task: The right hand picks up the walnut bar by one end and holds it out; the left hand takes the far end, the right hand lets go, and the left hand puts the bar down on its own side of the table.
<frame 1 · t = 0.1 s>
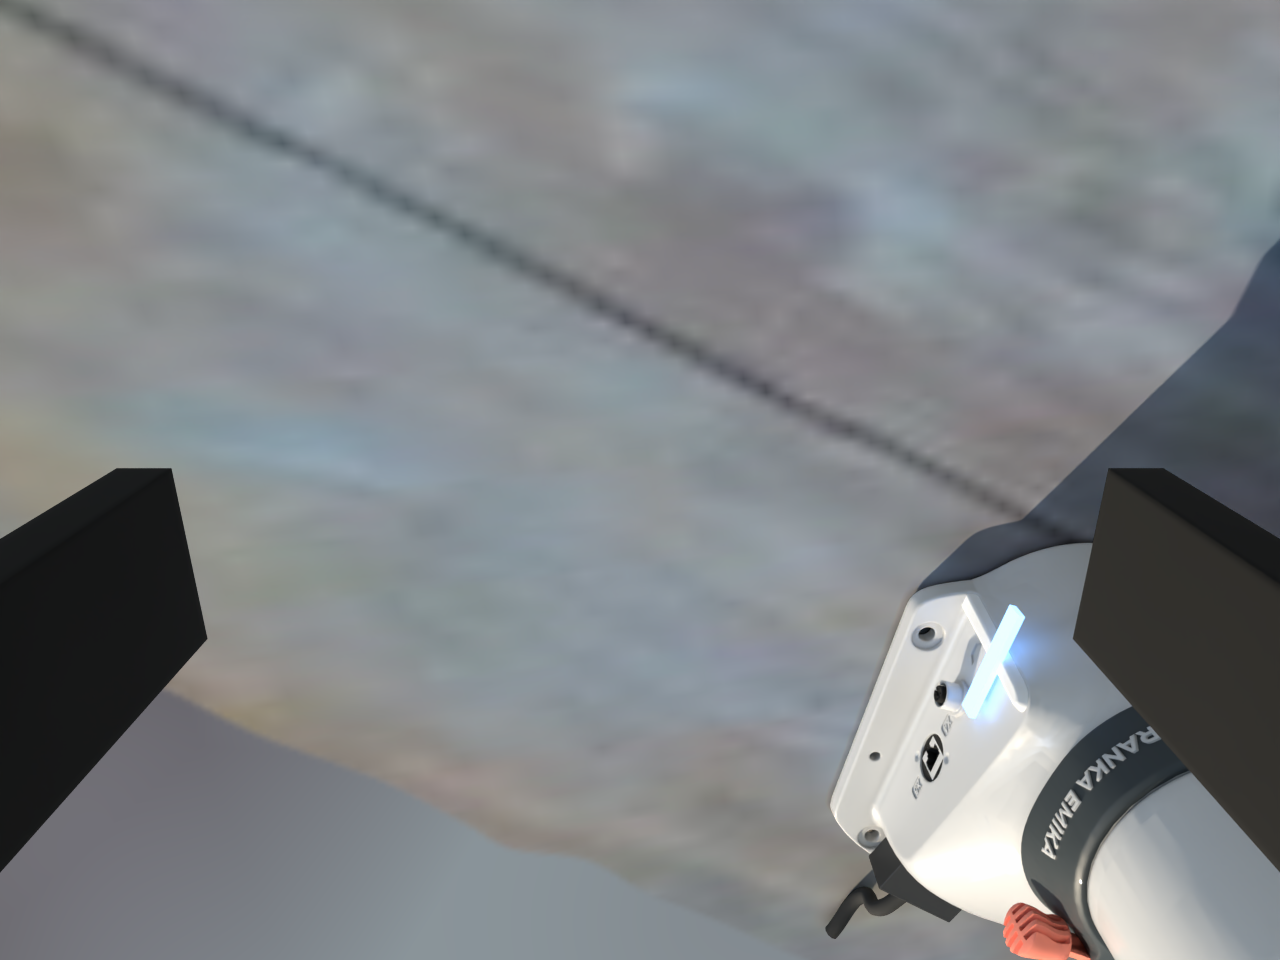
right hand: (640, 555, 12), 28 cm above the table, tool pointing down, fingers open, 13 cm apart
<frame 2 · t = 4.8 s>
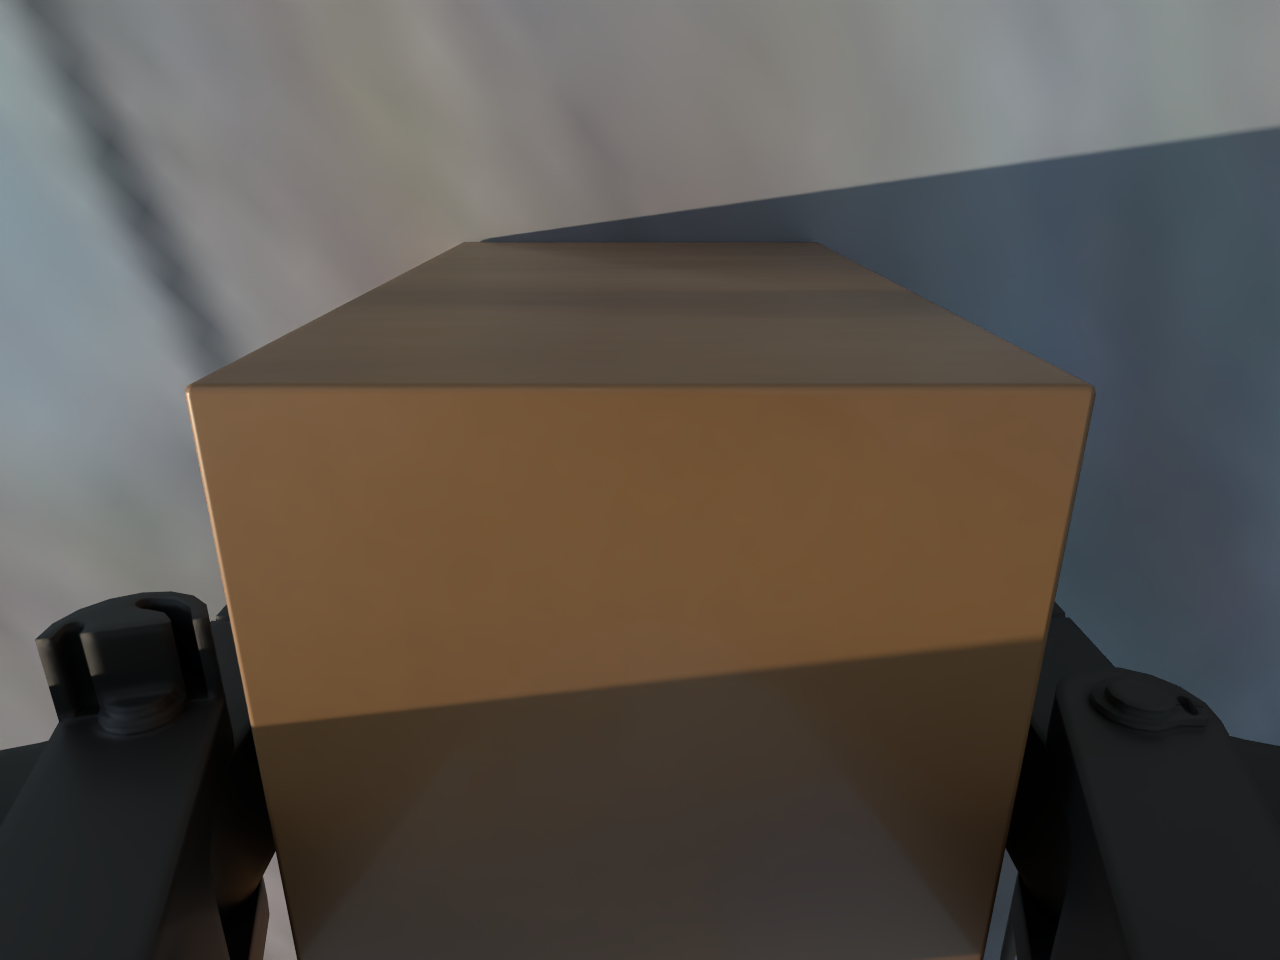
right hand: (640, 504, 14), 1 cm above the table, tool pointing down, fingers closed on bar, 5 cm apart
bar: (640, 806, 17), on the table, touching right hand
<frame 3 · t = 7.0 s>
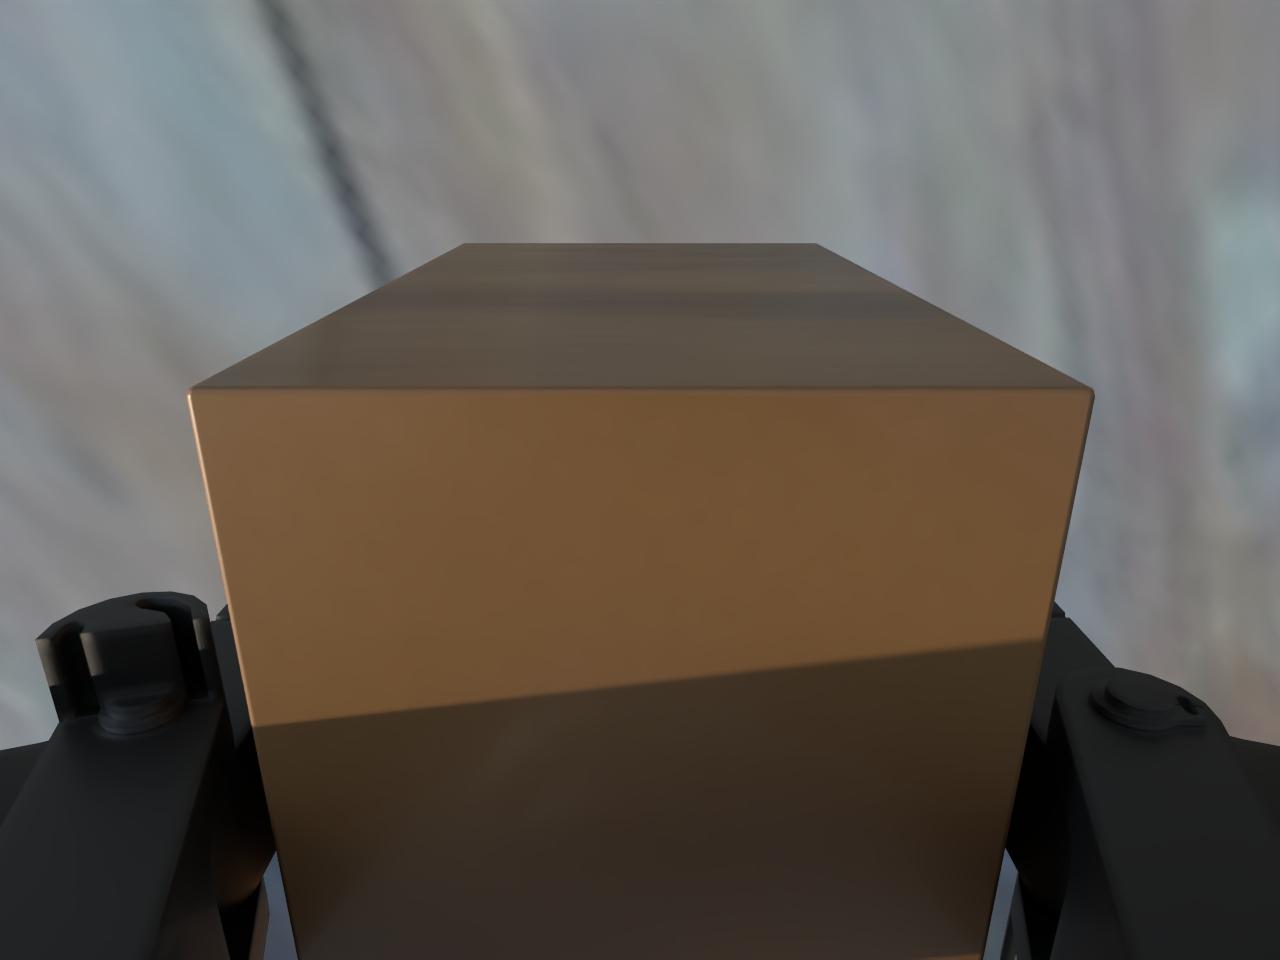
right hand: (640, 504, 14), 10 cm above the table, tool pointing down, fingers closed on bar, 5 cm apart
bar: (640, 806, 17), point 10 cm above the table, touching right hand
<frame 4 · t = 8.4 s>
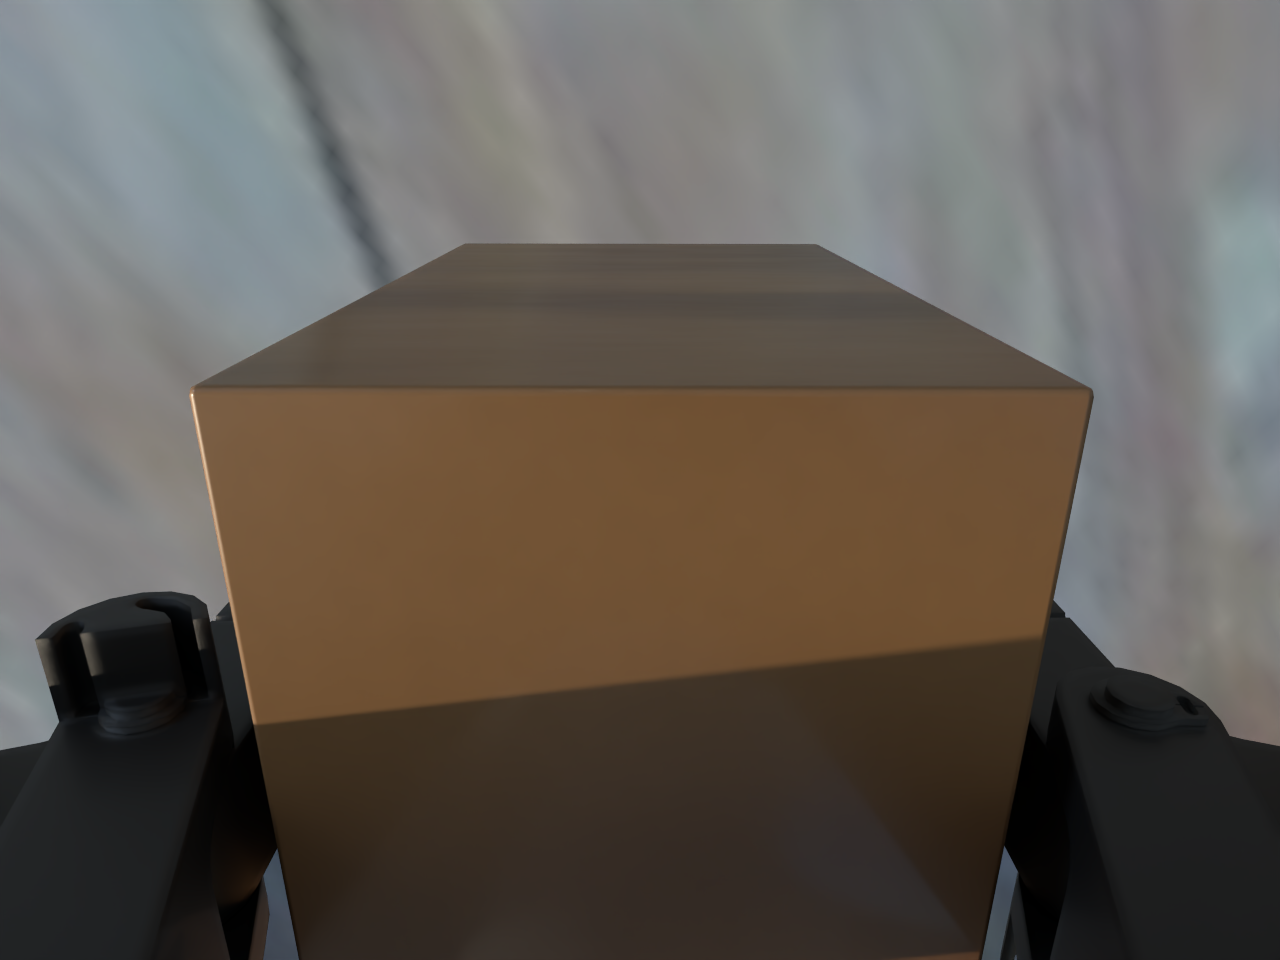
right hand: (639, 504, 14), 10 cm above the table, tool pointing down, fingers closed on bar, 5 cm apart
bar: (639, 806, 17), point 10 cm above the table, touching right hand, left hand
when the right hand's fingers open (10 cm above the table, at t = 9.4 s): bar stays where it is, held by the left hand.
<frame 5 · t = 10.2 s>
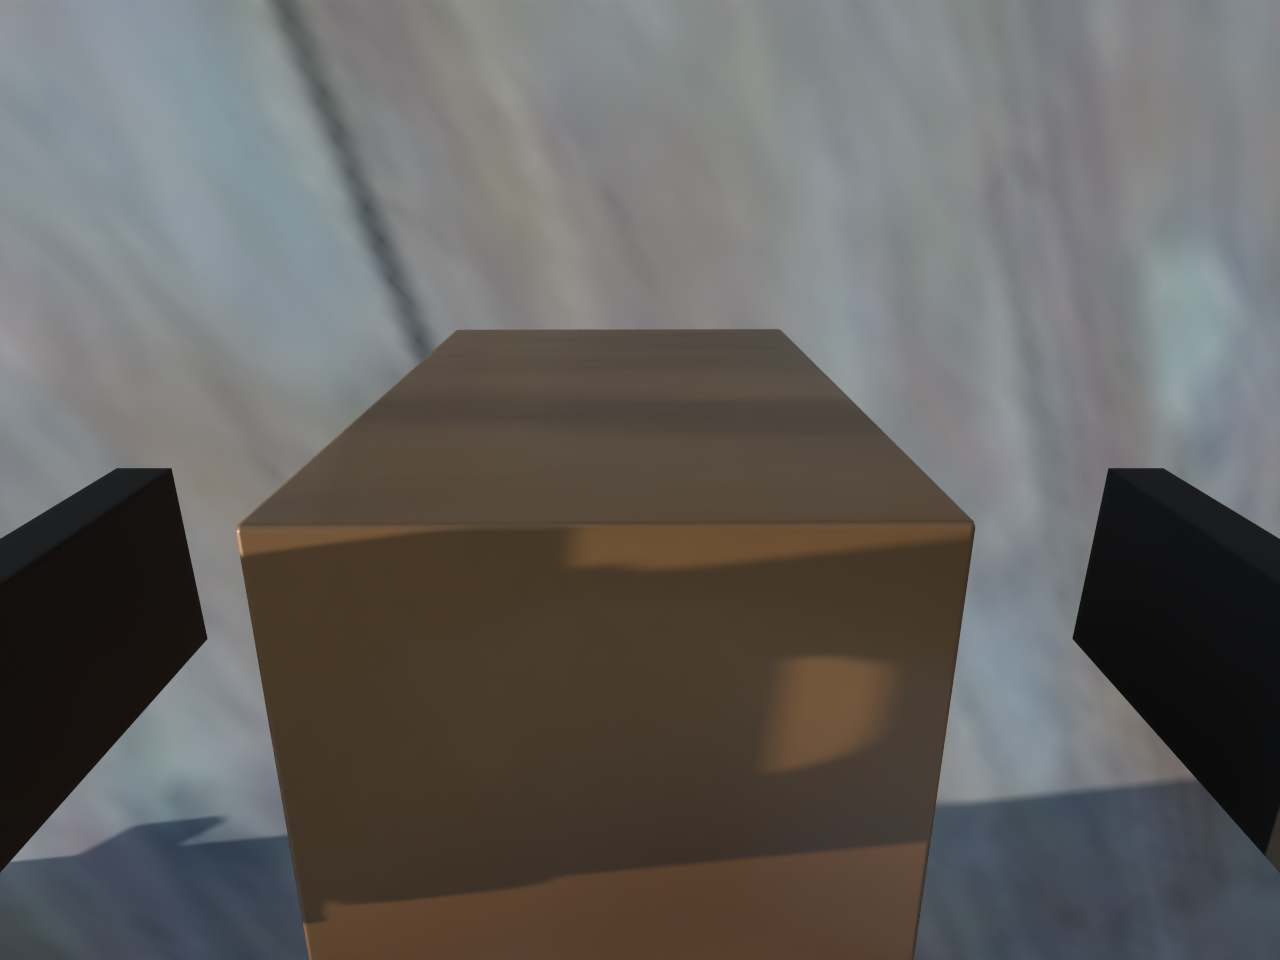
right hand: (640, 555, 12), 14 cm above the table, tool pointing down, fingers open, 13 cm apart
bar: (622, 846, 18), point 11 cm above the table, touching left hand
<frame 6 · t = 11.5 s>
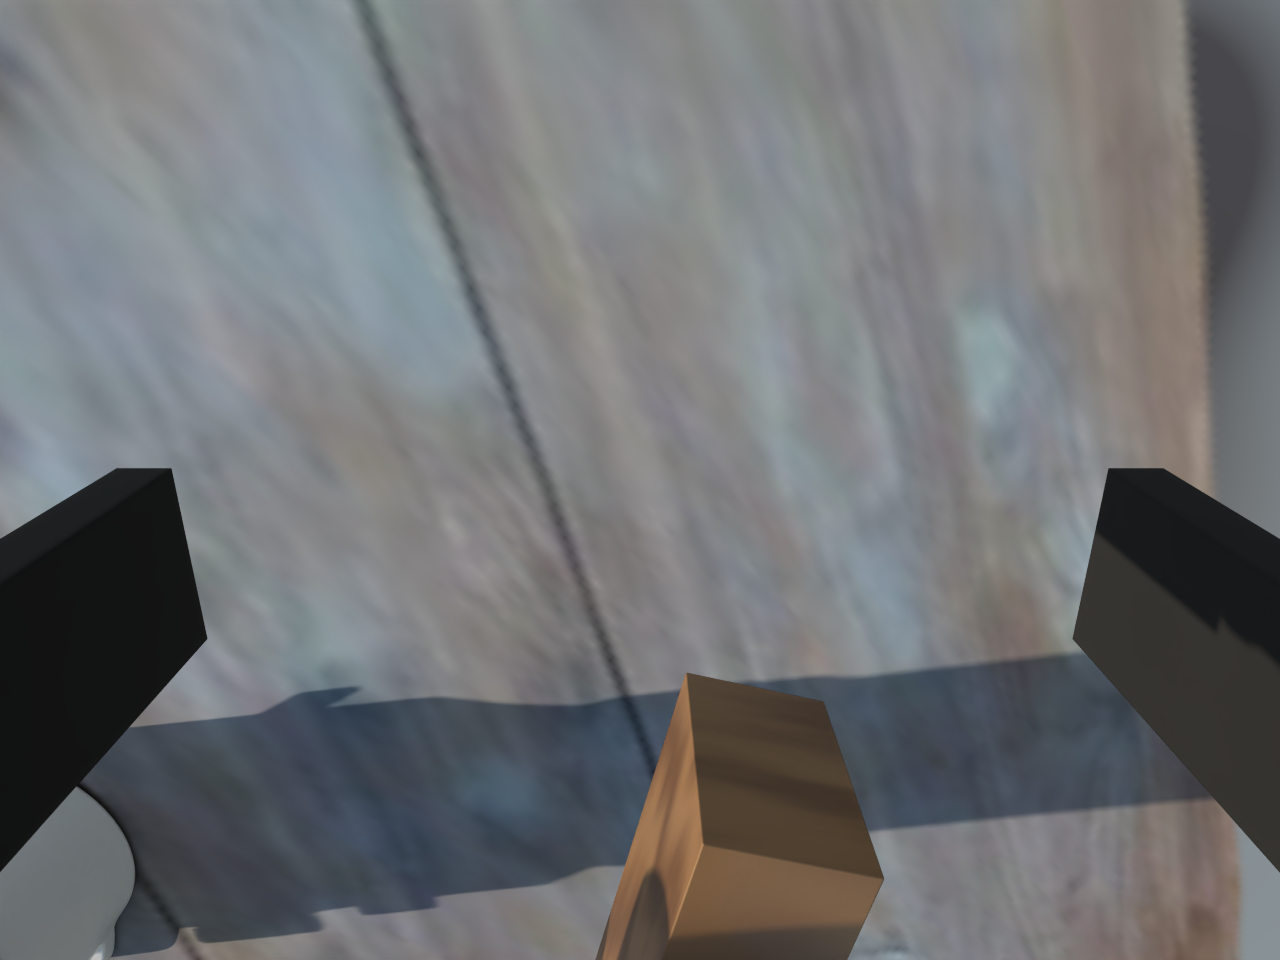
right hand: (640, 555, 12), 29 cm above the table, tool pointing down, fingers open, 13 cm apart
bar: (681, 896, 36), point 13 cm above the table, touching left hand
when the left hand's fingers open (4 cm above the table, at t = 14.8 s): bar stays where it is, on the table.
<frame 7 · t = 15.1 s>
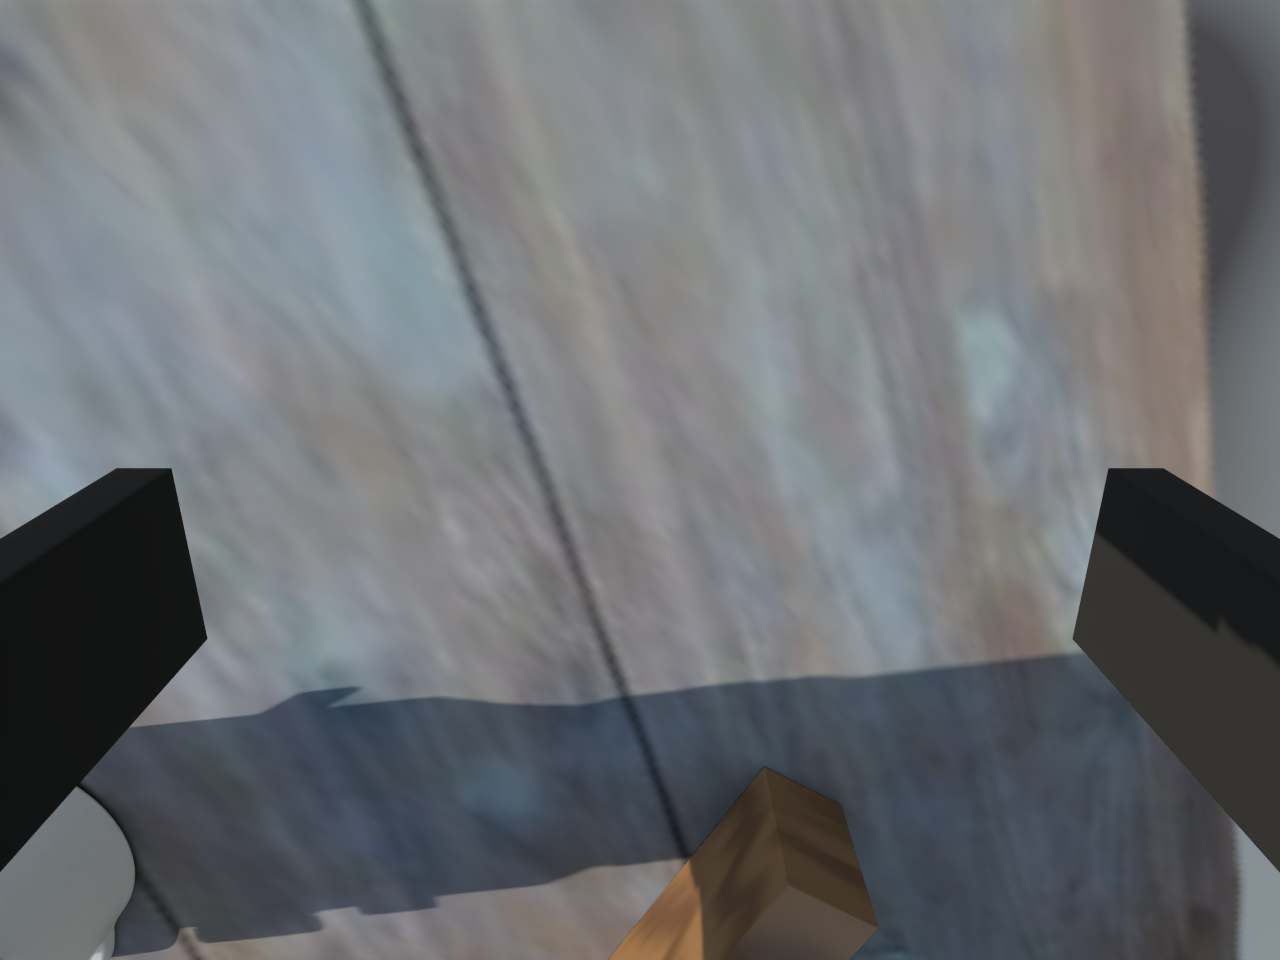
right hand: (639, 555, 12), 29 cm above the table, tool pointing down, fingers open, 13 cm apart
bar: (702, 905, 53), on the table
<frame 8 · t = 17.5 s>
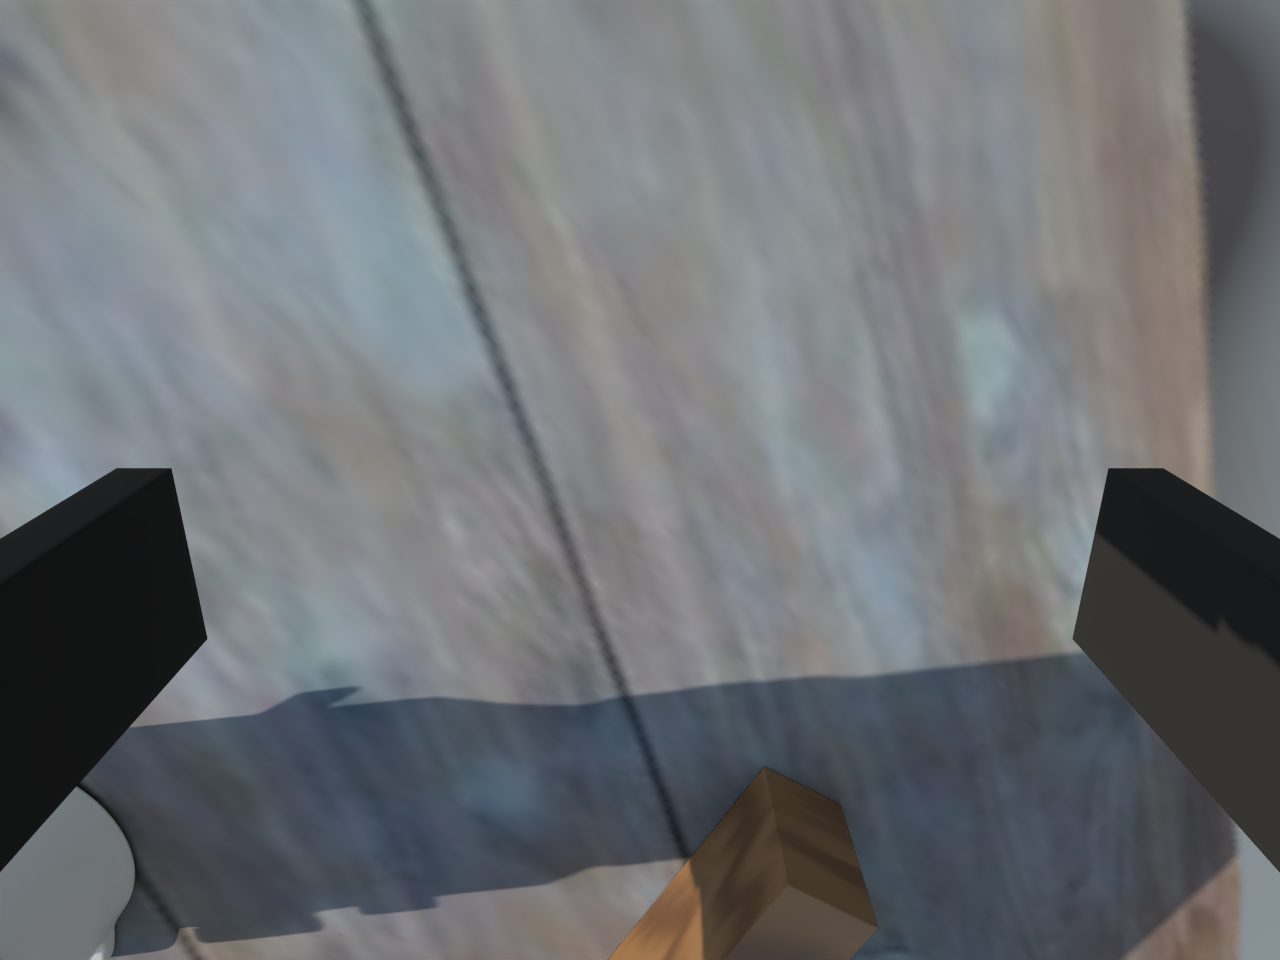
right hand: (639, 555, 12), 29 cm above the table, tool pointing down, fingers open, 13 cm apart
bar: (702, 905, 53), on the table
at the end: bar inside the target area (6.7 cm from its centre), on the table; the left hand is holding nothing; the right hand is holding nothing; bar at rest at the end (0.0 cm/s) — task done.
